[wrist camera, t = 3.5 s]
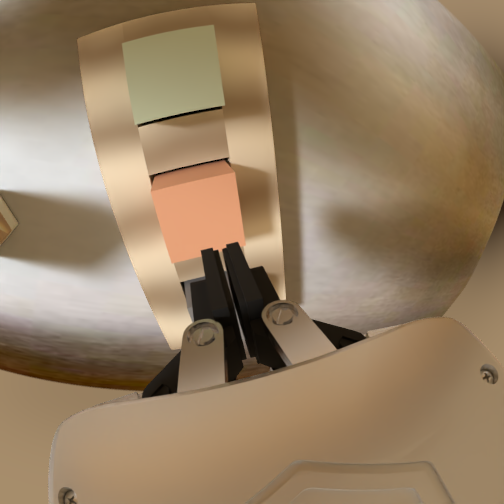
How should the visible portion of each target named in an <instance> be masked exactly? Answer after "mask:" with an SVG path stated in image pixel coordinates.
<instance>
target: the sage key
mask: <svg viewBox="0 0 504 504" xmlns="http://www.w3.org/2000/svg"><path fill="white" fill-rule="evenodd" d="M122 48H123V56H124V64H125V71H126V77H127V84H128V90H129V96H130V101H131V107H132V112H133V117H134V122H135V125H137V124H141V123H144V122H148V121H152V120H156V119H160V118H164V117H168V116H172V115H177V114H181V113H186V112H191V111H196V110H201V109H207V108H212V107H218V106H224V105H225V101H224V94H223V87H222V80H221V73H220V66H219V59H218V52H217V44H216V37H215V30H214V25H207V26H199V27H192V28H186V29H180V30H175V31H169V32H165V33H160V34H155V35H151V36H147V37H143V38H139V39H135V40H132V41H128V42H125V43H122Z"/></svg>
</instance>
